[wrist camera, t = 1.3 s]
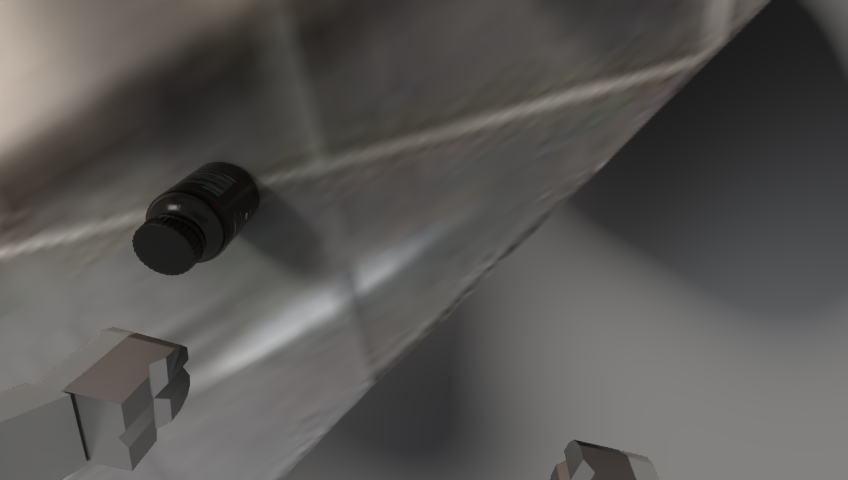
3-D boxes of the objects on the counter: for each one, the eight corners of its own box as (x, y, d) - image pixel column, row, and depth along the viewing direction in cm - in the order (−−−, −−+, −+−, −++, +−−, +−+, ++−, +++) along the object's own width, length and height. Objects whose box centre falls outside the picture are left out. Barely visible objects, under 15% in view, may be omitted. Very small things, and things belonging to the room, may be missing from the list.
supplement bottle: (250, 231, 46) (196, 298, 35) (187, 204, 44) (112, 265, 34) (269, 179, 43) (216, 235, 32) (202, 148, 41) (124, 196, 31)
